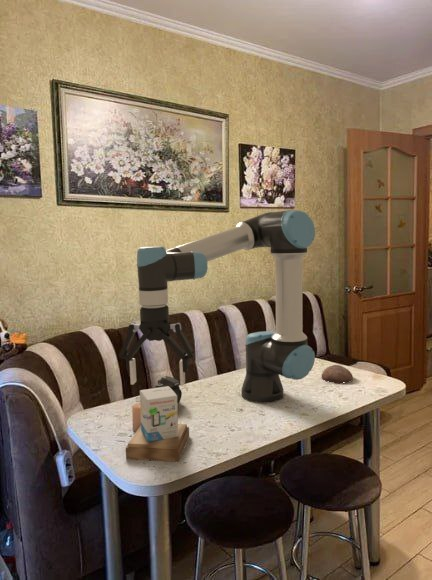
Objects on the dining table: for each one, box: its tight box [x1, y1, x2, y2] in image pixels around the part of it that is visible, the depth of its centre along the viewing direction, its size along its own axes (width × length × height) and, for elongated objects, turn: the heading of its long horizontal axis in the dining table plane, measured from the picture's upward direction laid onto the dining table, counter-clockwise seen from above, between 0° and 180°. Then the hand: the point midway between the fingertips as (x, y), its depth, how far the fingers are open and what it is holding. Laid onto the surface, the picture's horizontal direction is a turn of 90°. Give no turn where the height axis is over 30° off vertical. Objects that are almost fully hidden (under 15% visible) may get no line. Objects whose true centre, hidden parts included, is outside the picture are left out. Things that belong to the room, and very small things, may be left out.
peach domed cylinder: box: [131, 402, 141, 433], centre depth 131 cm, size 6×6×7 cm
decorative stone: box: [321, 364, 354, 384], centre depth 174 cm, size 12×12×6 cm
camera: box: [152, 375, 183, 405], centre depth 149 cm, size 13×10×10 cm
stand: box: [125, 423, 190, 463], centre depth 119 cm, size 14×14×4 cm
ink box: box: [139, 386, 179, 442], centre depth 119 cm, size 9×8×12 cm
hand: (158, 383), depth 118 cm, fingers open, 13 cm apart
